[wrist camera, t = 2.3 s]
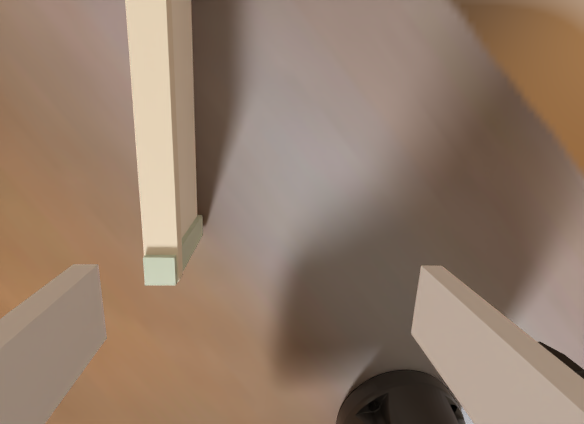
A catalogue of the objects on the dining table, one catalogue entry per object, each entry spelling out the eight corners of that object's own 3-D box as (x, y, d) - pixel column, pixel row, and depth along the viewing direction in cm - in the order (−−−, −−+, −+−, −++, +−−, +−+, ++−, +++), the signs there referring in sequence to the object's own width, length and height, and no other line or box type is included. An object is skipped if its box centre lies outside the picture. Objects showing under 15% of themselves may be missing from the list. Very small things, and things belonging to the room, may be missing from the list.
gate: (163, -74, 26) (85, -229, 15) (200, -71, 26) (152, -220, 15) (177, 234, 33) (131, 294, 21) (206, 234, 33) (176, 294, 21)
